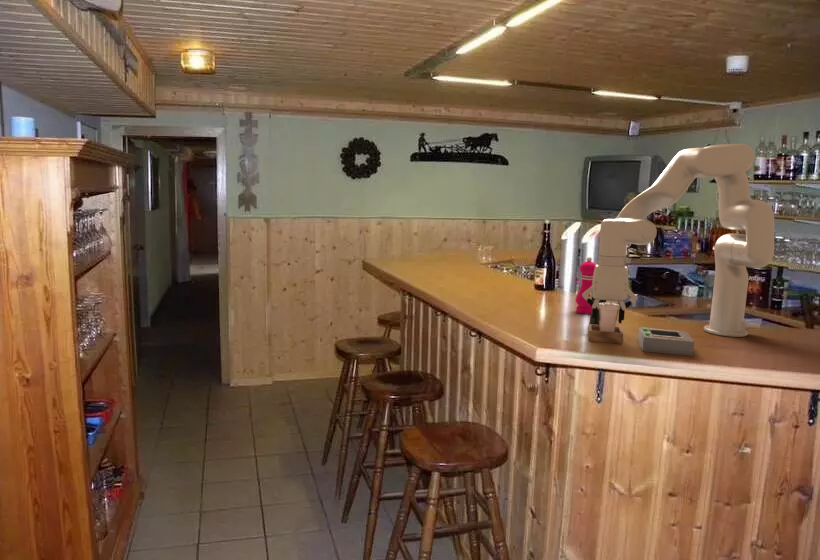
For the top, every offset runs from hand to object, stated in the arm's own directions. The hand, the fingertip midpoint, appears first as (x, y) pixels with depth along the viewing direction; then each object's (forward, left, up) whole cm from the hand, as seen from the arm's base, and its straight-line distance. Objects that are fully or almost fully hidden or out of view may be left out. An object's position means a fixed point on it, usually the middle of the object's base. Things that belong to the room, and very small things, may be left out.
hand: (607, 321), depth 187 cm
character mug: (+1, -16, -6) cm, 17 cm away
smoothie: (0, 0, -5) cm, 5 cm away
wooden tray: (0, 0, -5) cm, 5 cm away
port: (-16, +5, -5) cm, 17 cm away
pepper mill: (+5, -39, -6) cm, 40 cm away
